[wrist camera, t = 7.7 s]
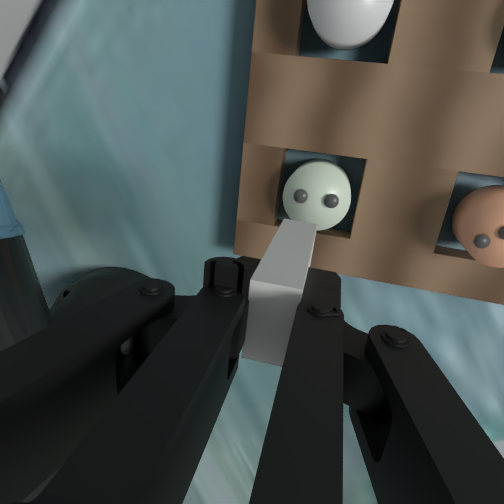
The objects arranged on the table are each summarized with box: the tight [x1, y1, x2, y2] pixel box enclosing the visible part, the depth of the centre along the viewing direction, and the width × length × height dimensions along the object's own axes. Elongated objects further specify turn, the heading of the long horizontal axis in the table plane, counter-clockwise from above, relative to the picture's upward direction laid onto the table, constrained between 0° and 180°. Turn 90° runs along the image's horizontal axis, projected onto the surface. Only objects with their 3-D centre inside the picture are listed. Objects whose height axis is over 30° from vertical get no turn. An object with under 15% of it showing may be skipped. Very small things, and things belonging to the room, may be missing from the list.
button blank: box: [307, 0, 394, 50], centre depth 22 cm, size 5×5×3 cm
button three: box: [452, 185, 504, 268], centre depth 25 cm, size 5×5×3 cm
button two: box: [283, 159, 351, 230], centre depth 28 cm, size 5×5×3 cm
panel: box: [233, 0, 504, 305], centre depth 25 cm, size 24×24×2 cm
